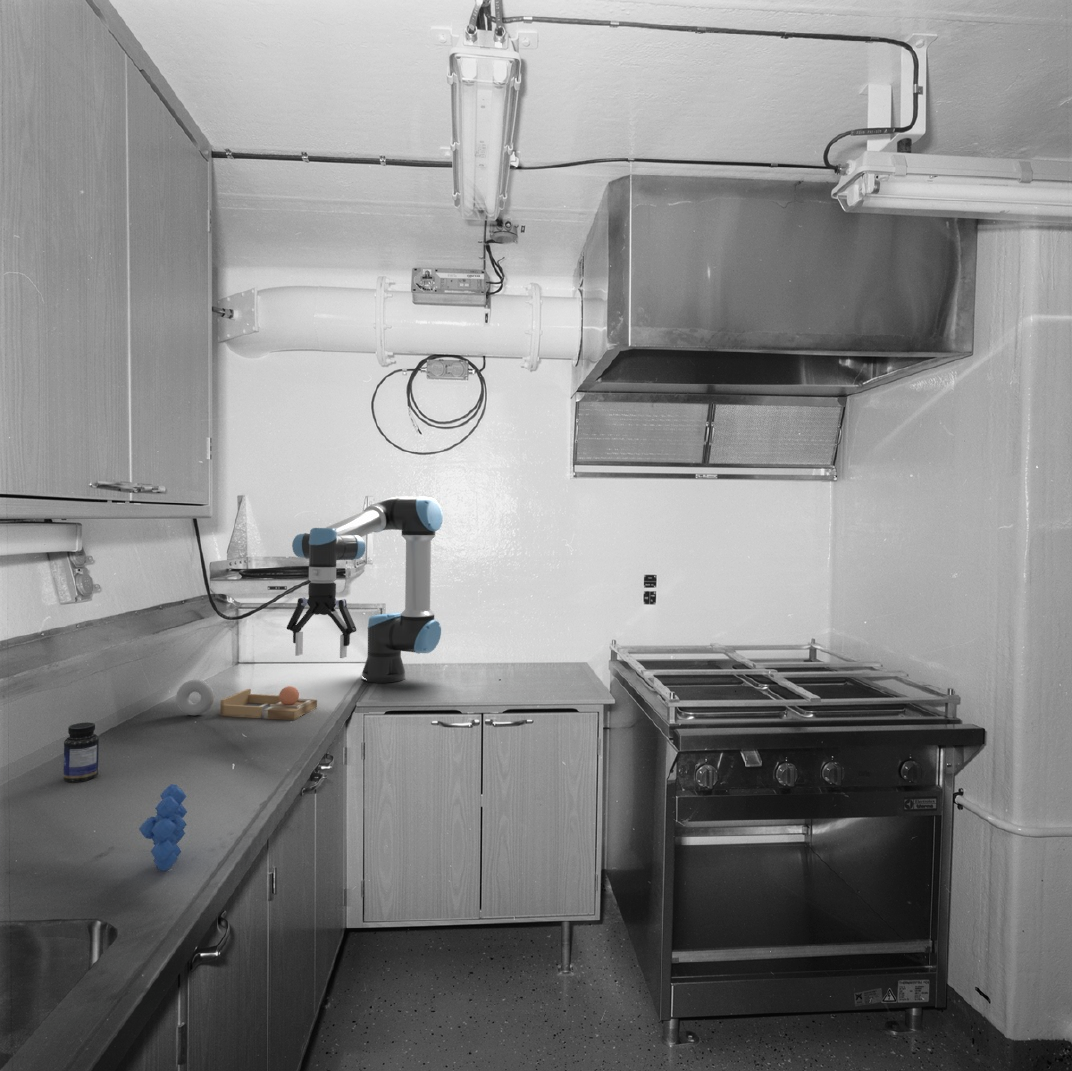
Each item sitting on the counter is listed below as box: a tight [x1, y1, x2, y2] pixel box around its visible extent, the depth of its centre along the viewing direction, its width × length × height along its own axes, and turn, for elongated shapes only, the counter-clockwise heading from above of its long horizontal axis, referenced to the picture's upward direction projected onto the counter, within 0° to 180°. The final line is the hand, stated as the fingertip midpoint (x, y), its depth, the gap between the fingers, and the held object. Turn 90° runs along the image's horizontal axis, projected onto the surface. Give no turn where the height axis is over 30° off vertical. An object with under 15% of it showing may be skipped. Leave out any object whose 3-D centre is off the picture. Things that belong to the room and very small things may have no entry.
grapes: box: [139, 783, 188, 872], centre depth 110 cm, size 12×7×12 cm, turn 16°
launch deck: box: [263, 698, 318, 721], centre depth 200 cm, size 14×9×3 cm, turn 172°
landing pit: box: [219, 688, 280, 719], centre depth 201 cm, size 14×13×4 cm
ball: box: [278, 685, 300, 705], centre depth 199 cm, size 5×5×5 cm
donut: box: [175, 679, 215, 716], centre depth 195 cm, size 10×4×10 cm, turn 98°
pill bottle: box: [63, 721, 100, 783], centre depth 146 cm, size 6×6×11 cm
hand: (320, 656), depth 199 cm, fingers open, 13 cm apart
